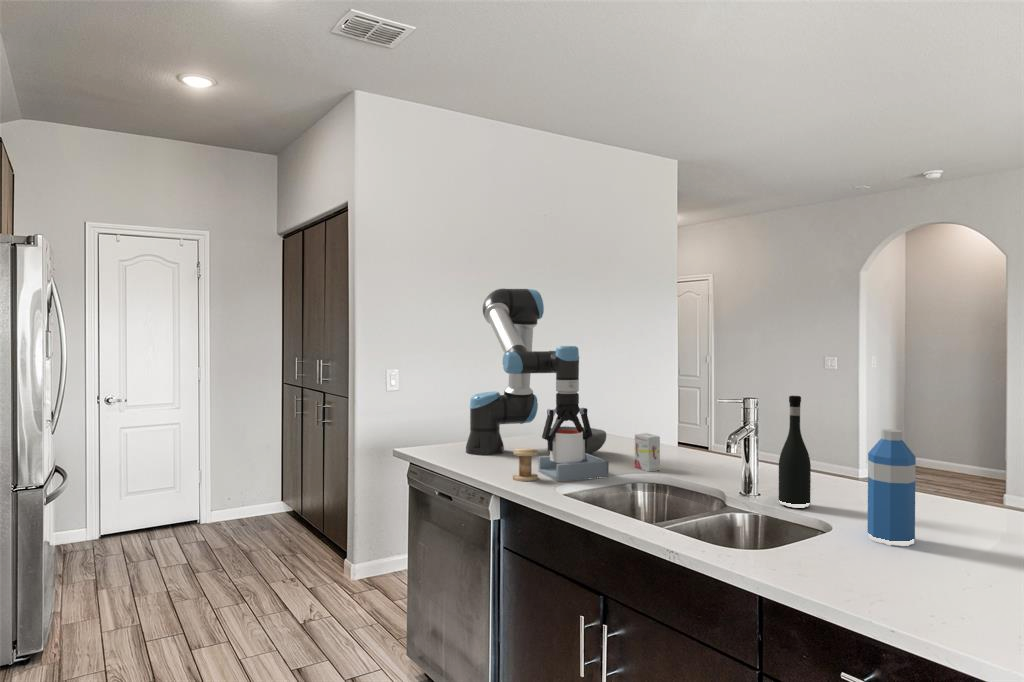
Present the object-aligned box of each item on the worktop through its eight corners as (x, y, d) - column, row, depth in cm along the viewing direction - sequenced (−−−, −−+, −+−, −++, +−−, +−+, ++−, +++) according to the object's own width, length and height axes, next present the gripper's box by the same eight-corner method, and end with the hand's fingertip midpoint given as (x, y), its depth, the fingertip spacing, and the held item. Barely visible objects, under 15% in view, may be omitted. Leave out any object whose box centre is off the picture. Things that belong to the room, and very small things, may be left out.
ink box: (633, 467, 230) (633, 433, 230) (645, 466, 233) (645, 432, 232) (648, 472, 223) (648, 437, 222) (660, 470, 225) (660, 436, 225)
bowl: (610, 461, 242) (610, 433, 242) (548, 460, 242) (548, 433, 242) (602, 449, 265) (602, 425, 265) (546, 449, 265) (546, 424, 265)
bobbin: (509, 476, 215) (509, 449, 215) (531, 475, 218) (532, 447, 218) (518, 482, 207) (518, 453, 207) (541, 480, 210) (541, 452, 210)
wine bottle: (786, 500, 185) (786, 394, 184) (815, 505, 179) (815, 396, 179) (773, 505, 179) (774, 395, 179) (803, 511, 174) (803, 398, 173)
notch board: (538, 471, 223) (538, 456, 223) (585, 467, 229) (585, 453, 229) (558, 481, 208) (558, 465, 208) (608, 477, 214) (608, 461, 214)
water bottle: (914, 549, 143) (915, 435, 143) (866, 542, 148) (866, 431, 148) (915, 538, 151) (916, 429, 151) (868, 531, 156) (869, 426, 156)
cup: (582, 459, 222) (582, 429, 222) (582, 465, 212) (582, 434, 212) (552, 458, 223) (552, 429, 223) (551, 464, 213) (551, 433, 213)
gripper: (540, 394, 210) (540, 464, 210) (603, 392, 218) (603, 459, 218) (531, 392, 217) (531, 459, 217) (592, 390, 225) (592, 455, 225)
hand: (567, 459), depth 218 cm, fingers closed on cup, 10 cm apart
